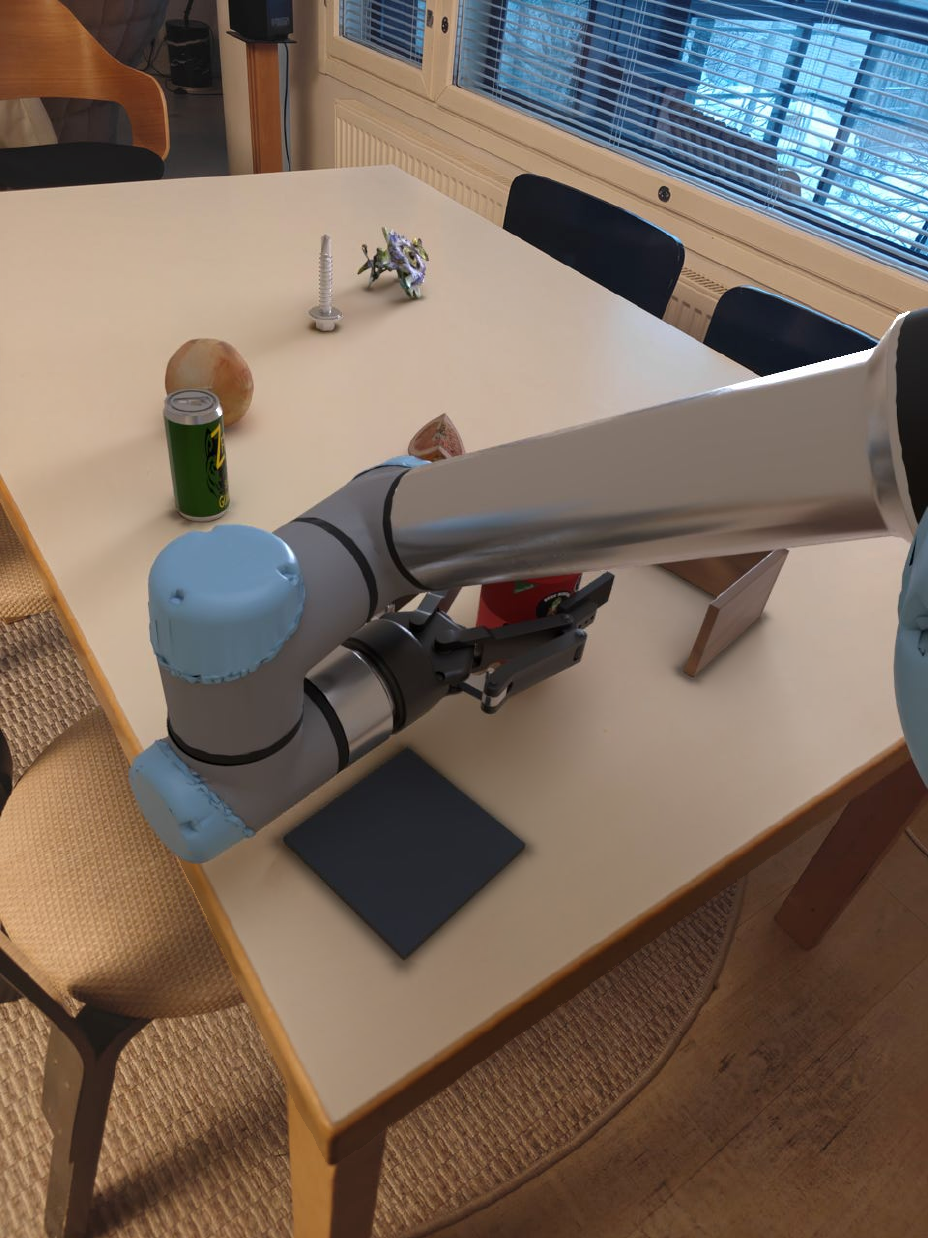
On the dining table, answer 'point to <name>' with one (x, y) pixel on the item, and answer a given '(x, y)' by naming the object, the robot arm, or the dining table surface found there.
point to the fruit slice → (436, 441)
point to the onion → (212, 375)
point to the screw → (325, 291)
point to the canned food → (523, 599)
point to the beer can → (197, 454)
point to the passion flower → (399, 262)
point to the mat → (404, 849)
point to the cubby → (728, 597)
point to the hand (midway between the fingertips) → (566, 561)
